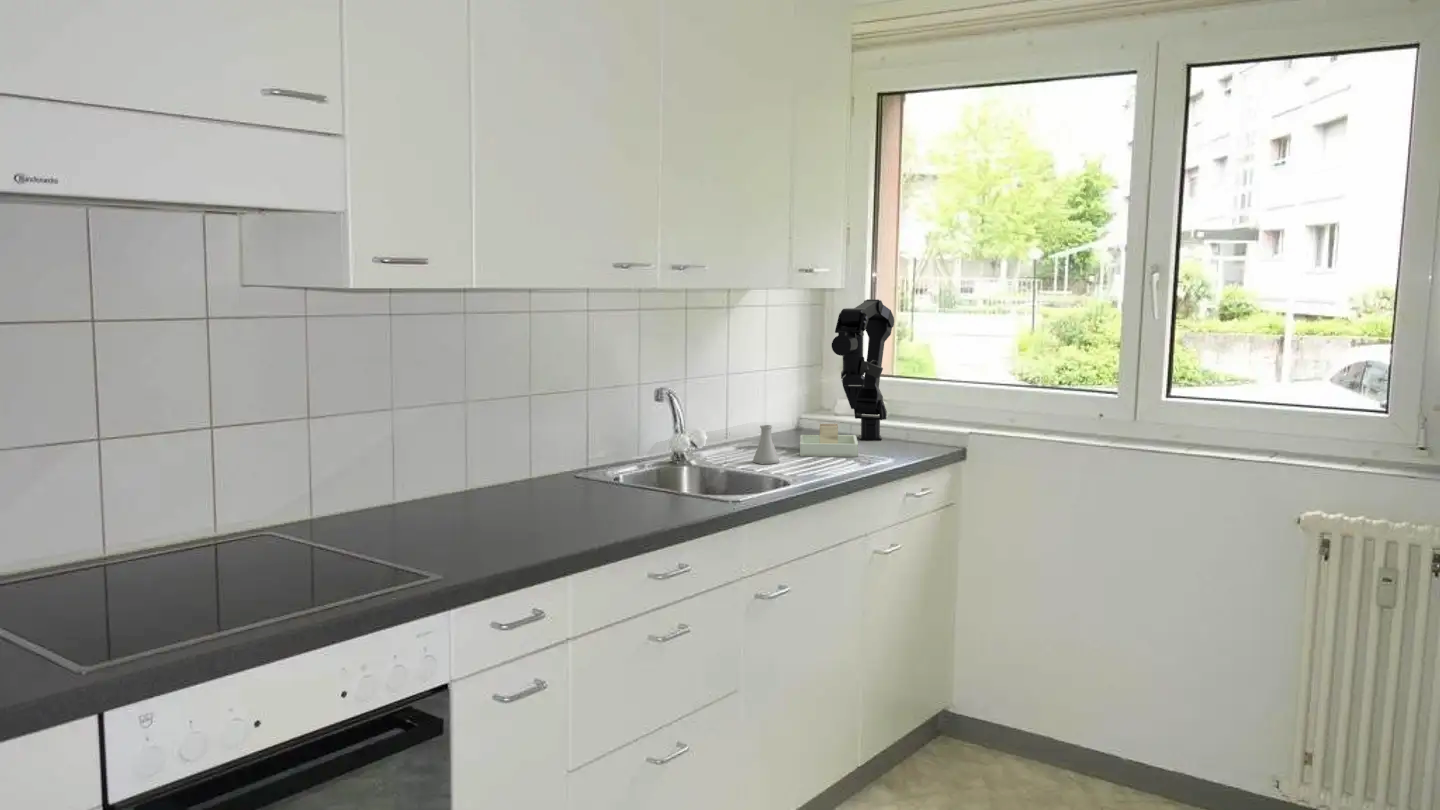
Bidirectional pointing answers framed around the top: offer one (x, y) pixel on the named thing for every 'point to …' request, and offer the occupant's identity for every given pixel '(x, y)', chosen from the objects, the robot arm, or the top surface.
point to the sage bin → (828, 446)
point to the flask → (766, 448)
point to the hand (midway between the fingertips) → (852, 406)
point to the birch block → (828, 433)
